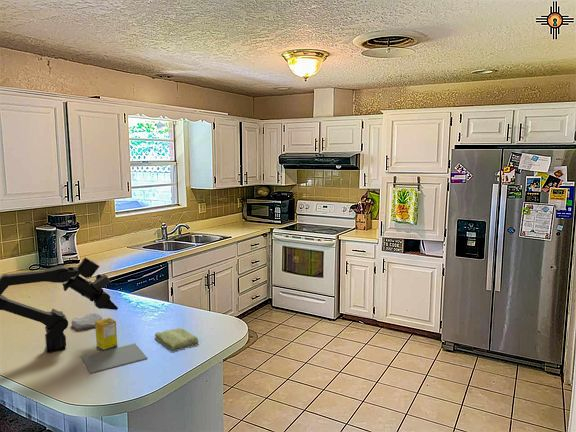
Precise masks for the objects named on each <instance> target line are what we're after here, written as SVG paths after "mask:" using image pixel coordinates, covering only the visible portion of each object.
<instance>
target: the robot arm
mask: <svg viewBox="0 0 576 432" xmlns="http://www.w3.org/2000/svg"><path fill="white" fill-rule="evenodd" d="M99 268H100V265H99V264H98V263H96V262H95V261H93V260H91V259H89V258H87V257H86V256H85V257H84V258H82V261H81V262H80V263H79V264H78V266H77V267H76V266H65V265H56V266H54V267H53V266H52V267H50V268H47V269H44V270H36V271H29V272H18V273H4V274H1V276H0V311H4V312H7V313H10V314H14V315H16V316H20V317H23V318H26V319H30V320H33V321H35V322H39V323H41V324H42V325H44V330H45V334H44V339H45V347H44V349H45V351H46V353H47V354H50V353H55V352H59V351H64V350H67V349H66V347H67V338H66V337H67V336H66V334H65V332H64V331H65V330H67V328H68V326H69V321H68V319H67V316H66V315H65V314H64V312H63V310H61V311H60V310H57V309H55V308H52V309H51V311H45V310H42V309H40V308H39V309H38V308H37V307H33V306H29V305H27V304H24V303H21V302H17V301H16V300H12V299H9V298H7V297H6V296H5V295H3V293H4V292H5V291H6V290H7V289H8V288H9V287H10V286H17V285H26V284H34V283H42V282H46V283H55V284H56V283H57V284H58V283H59V284H61V285H62V286H63V287H62V289H63V291H64V292H66V291H67V290H68V289H69V288H70V289H71V290H73V291H74V292H76V293H78V294H79V295H80V296H81V297H84V298H86V299H88V300H89V301H90V302H93V305H94V307H96V308H98V309H102V310H113V311H117V310H118V309H119V307H118V306H117V305H116V304H115V303H114V302H113V301H112V300H111V295H110V294H109V293H107V292H105V291H104V287H105V286H107V285H109V284H111V280H110V278H109V277H108V275H106V274H97V275H96V276H95V279H94V281H91V280H90V281H88V280H87V278H88V279H89V278H92V277H93V276H94V274H95V273H96V272H97V271H98V269H99Z"/></svg>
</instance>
